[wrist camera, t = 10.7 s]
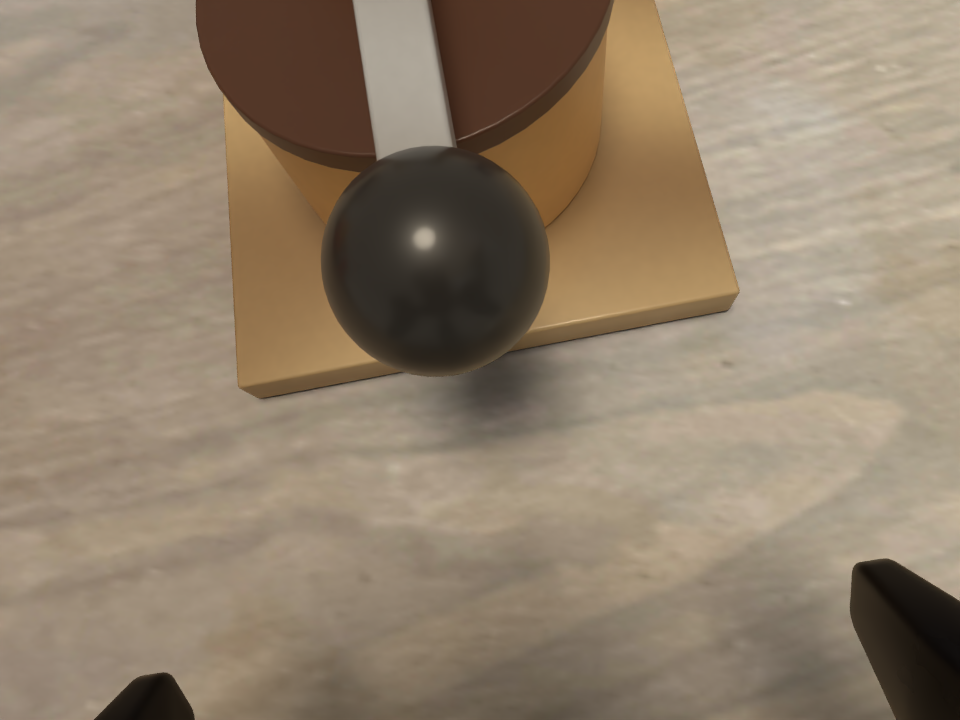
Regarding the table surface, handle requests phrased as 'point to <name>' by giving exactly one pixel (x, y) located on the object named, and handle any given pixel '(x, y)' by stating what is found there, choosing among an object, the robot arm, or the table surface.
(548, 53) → the cake
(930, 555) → the table surface
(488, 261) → the blade
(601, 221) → the slicer
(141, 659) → the table surface
